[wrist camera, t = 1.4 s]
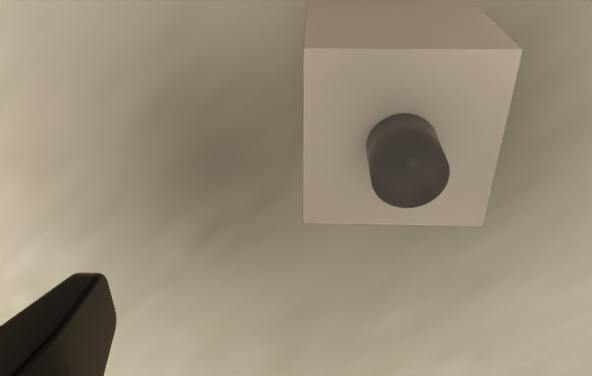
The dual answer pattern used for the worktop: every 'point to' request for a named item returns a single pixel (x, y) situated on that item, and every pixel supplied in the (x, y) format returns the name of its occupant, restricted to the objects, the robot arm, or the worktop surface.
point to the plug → (403, 111)
